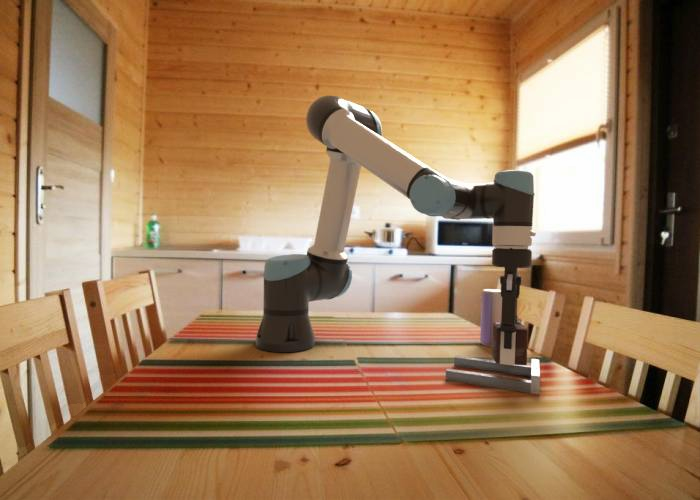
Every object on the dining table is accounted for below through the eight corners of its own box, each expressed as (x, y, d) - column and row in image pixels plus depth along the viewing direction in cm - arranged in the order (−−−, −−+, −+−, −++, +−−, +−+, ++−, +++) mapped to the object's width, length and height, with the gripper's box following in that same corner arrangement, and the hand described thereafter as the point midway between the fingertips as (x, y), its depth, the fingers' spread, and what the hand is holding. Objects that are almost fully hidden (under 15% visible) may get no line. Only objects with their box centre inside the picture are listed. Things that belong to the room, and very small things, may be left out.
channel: (445, 380, 86) (445, 363, 86) (455, 364, 98) (455, 349, 97) (539, 394, 80) (540, 376, 79) (538, 375, 91) (539, 359, 90)
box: (527, 366, 84) (528, 329, 83) (495, 364, 85) (496, 327, 85) (521, 357, 90) (522, 323, 89) (491, 355, 91) (492, 321, 91)
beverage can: (479, 345, 115) (481, 290, 114) (481, 340, 120) (482, 288, 120) (502, 348, 112) (504, 292, 112) (503, 343, 118) (505, 289, 117)
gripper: (531, 249, 76) (527, 376, 77) (531, 247, 94) (528, 350, 95) (488, 247, 79) (484, 370, 80) (496, 246, 97) (493, 346, 98)
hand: (508, 359), depth 87 cm, fingers closed on box, 7 cm apart
